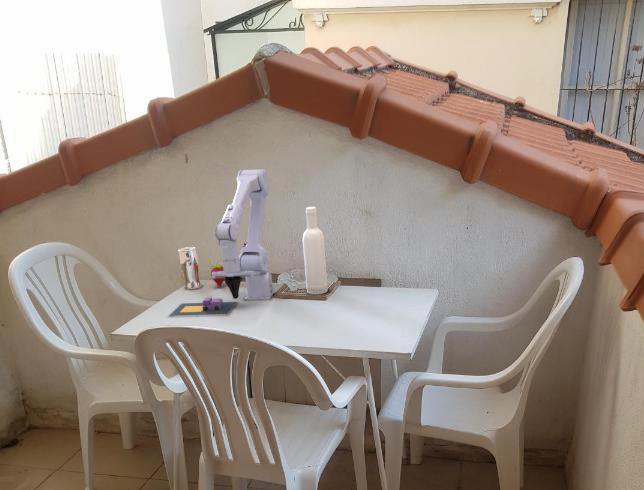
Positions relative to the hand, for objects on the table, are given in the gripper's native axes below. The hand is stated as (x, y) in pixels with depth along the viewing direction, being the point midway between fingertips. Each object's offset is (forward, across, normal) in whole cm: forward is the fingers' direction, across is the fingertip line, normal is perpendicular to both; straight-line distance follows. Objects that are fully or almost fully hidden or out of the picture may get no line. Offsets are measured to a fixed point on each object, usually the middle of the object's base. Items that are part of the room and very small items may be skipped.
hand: (235, 297), depth 244 cm
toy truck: (+3, -9, 0) cm, 10 cm away
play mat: (+4, -12, 0) cm, 13 cm away
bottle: (+4, +26, +18) cm, 32 cm away
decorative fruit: (-1, -14, +29) cm, 33 cm away
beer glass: (+4, -26, +30) cm, 40 cm away
